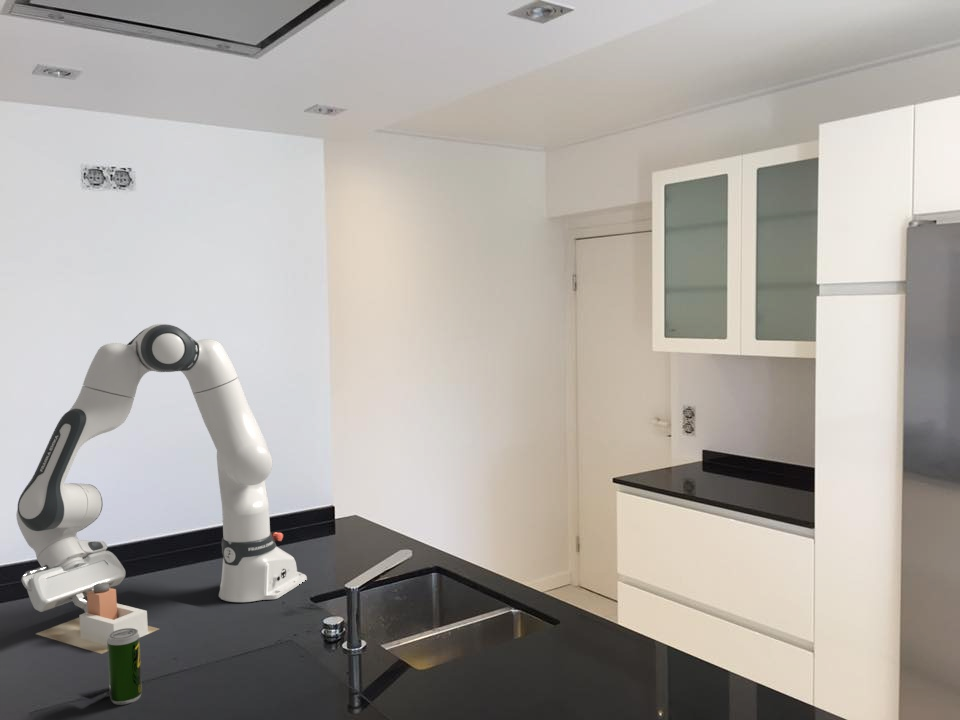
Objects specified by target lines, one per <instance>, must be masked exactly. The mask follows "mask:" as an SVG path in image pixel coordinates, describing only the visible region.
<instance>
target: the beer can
mask: <svg viewBox="0 0 960 720" xmlns="http://www.w3.org/2000/svg"><path fill="white" fill-rule="evenodd" d="M140 638H141V637H139V634H138V630H137V629H134V628H125V629H119V630H116V631H113V632H112V633H110V634H109V635H108V640H107V649H108V651H107V664H108V665H107V666H108V685H109V688H108V689H109V699H110V701H111V702H112V703H113V704H114V705H118V706H119V705H120V706H121V705H128V704H131V703H134V702H137V701H138V700H139V699H141V695H142V693H143V681H142V679H143V678H142V660H141V659H142V658H141V644H140V643H141V642H140Z"/></svg>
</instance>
